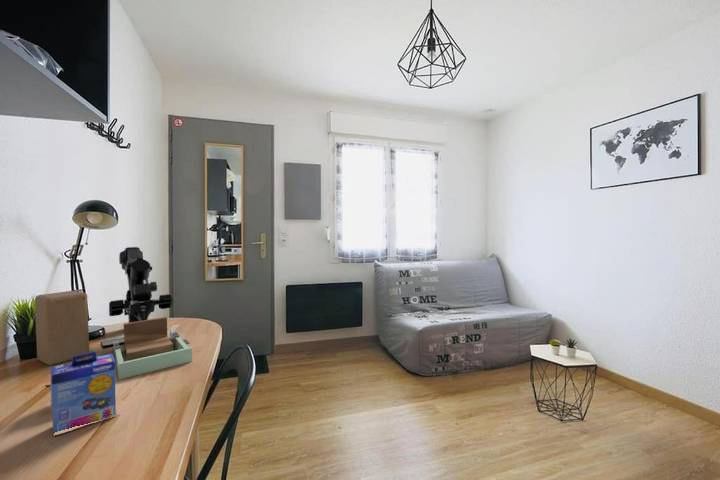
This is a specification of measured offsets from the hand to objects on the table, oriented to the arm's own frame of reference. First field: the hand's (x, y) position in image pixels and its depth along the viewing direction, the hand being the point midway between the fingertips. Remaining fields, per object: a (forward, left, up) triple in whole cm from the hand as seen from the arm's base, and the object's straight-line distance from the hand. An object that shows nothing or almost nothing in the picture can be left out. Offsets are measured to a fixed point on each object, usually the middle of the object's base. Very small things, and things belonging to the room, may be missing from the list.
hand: (144, 324), depth 111 cm
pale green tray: (+13, +5, -7) cm, 15 cm away
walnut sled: (+8, +3, -7) cm, 11 cm away
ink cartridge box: (+49, +2, -7) cm, 50 cm away
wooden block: (+5, -20, -7) cm, 22 cm away
